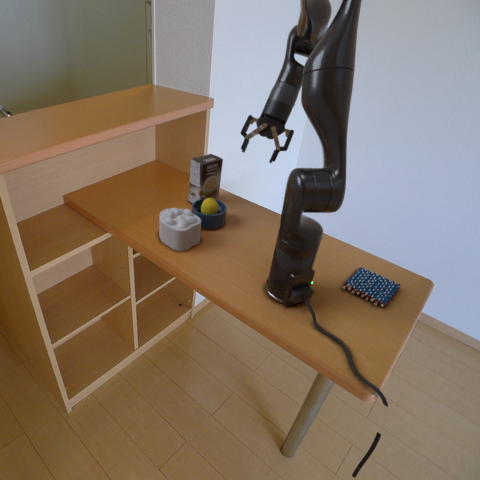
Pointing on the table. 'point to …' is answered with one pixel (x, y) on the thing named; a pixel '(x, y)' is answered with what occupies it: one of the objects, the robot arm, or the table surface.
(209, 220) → the bowl
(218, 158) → the coffee box
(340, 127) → the robot arm
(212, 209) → the lemon
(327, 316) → the table surface
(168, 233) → the paw print block
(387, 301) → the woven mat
